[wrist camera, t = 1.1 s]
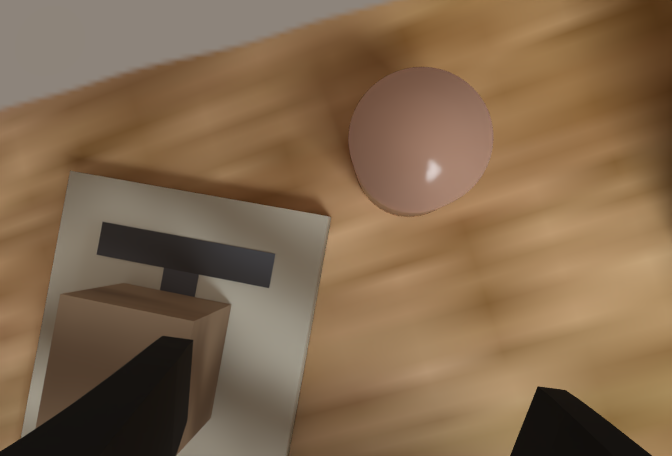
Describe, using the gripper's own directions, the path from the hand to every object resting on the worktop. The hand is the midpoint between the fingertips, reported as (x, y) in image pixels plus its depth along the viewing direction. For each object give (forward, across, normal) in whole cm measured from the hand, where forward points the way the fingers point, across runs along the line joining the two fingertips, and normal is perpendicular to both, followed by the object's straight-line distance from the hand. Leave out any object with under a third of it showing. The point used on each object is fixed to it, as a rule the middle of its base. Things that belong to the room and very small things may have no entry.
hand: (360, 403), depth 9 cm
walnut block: (+9, +7, +6) cm, 13 cm away
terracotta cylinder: (+12, -2, -3) cm, 13 cm away
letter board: (+10, +7, +8) cm, 14 cm away
